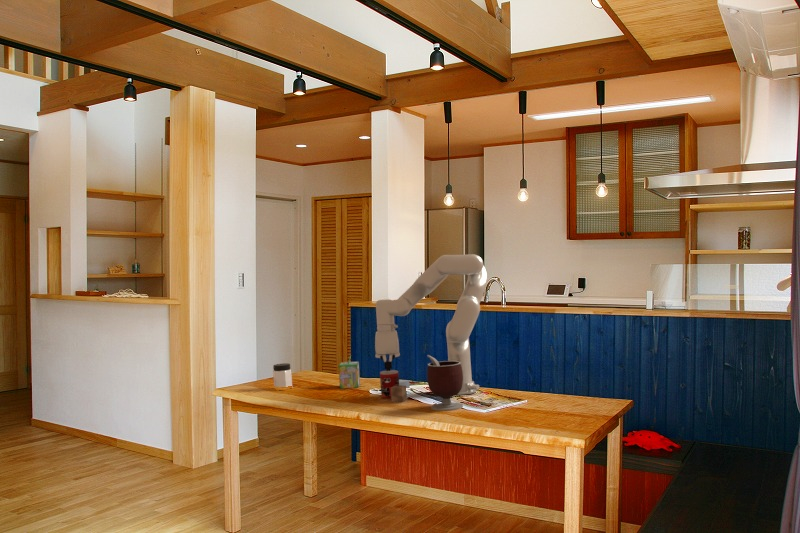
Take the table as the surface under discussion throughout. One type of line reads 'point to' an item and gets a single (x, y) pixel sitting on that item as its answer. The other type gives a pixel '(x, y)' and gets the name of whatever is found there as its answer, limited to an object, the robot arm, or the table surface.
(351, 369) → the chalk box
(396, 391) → the walnut block
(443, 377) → the mate gourd
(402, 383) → the slate block
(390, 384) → the canned food
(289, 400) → the table surface
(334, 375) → the table surface
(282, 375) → the jar
